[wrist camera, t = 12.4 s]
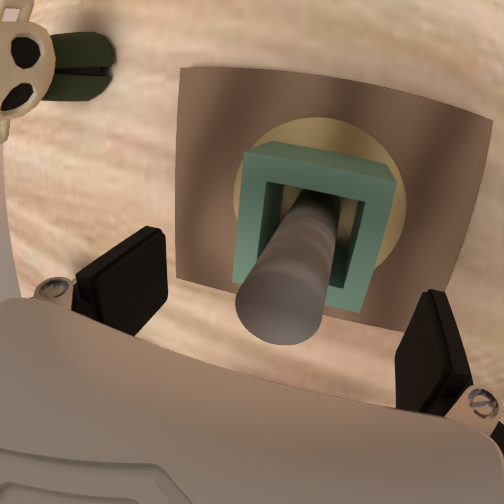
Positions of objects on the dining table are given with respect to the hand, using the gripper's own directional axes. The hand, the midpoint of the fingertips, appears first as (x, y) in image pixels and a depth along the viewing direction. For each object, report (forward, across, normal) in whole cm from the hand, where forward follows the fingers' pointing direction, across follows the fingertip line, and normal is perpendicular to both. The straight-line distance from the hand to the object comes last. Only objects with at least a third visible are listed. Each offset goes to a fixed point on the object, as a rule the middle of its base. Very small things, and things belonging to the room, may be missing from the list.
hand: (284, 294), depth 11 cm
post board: (+12, 0, 0) cm, 12 cm away
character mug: (+12, +20, -9) cm, 25 cm away
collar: (+10, 0, 0) cm, 10 cm away
